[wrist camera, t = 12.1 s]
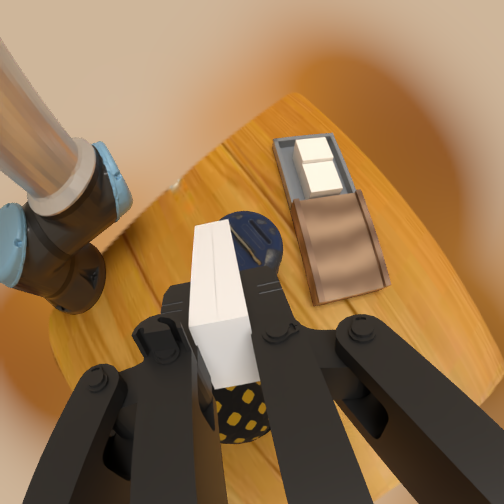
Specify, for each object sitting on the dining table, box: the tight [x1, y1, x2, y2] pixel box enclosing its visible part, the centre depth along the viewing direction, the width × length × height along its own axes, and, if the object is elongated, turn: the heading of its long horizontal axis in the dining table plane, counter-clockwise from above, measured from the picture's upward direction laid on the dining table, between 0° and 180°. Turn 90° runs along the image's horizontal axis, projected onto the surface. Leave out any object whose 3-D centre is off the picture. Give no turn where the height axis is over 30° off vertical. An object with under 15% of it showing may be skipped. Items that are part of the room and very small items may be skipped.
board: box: [290, 190, 391, 307], centre depth 49 cm, size 18×13×5 cm
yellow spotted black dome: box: [211, 381, 271, 444], centre depth 40 cm, size 16×9×20 cm
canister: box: [219, 211, 283, 275], centre depth 42 cm, size 10×10×18 cm
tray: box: [273, 133, 356, 210], centre depth 55 cm, size 15×13×3 cm
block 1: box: [292, 137, 334, 178], centre depth 53 cm, size 6×6×5 cm
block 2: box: [299, 161, 343, 200], centre depth 52 cm, size 6×6×5 cm
